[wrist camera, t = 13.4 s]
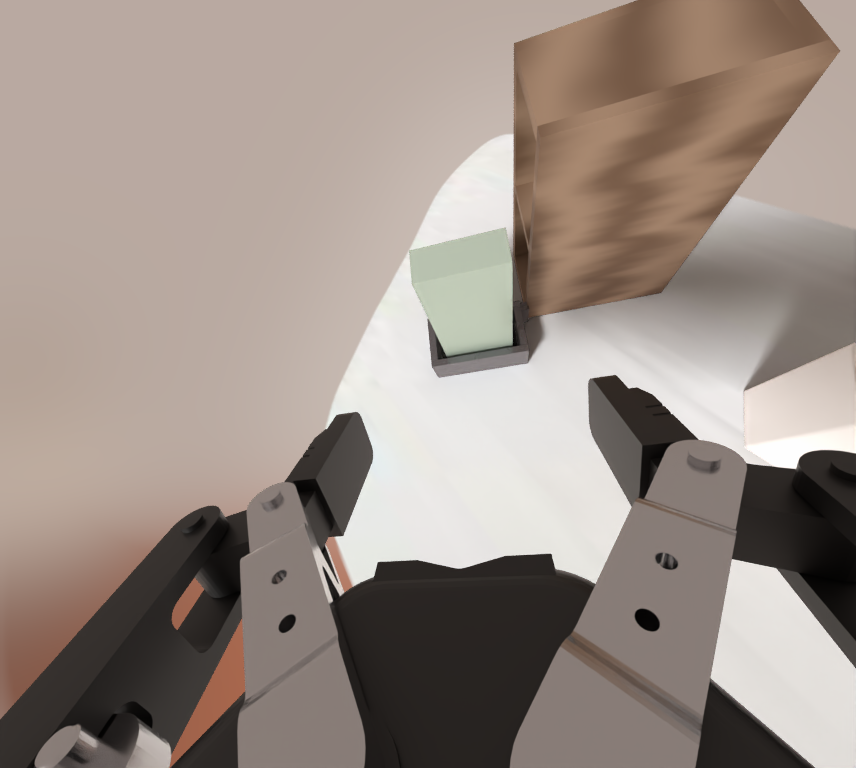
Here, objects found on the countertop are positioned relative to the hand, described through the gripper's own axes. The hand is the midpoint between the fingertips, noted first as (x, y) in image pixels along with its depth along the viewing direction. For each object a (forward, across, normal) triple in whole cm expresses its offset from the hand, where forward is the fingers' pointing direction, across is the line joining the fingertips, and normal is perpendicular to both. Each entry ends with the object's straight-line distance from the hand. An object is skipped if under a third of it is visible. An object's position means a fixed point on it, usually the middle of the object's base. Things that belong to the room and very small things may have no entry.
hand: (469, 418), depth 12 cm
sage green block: (+21, 0, +6) cm, 22 cm away
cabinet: (+26, -11, +1) cm, 28 cm away
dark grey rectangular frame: (+21, 0, +5) cm, 22 cm away
